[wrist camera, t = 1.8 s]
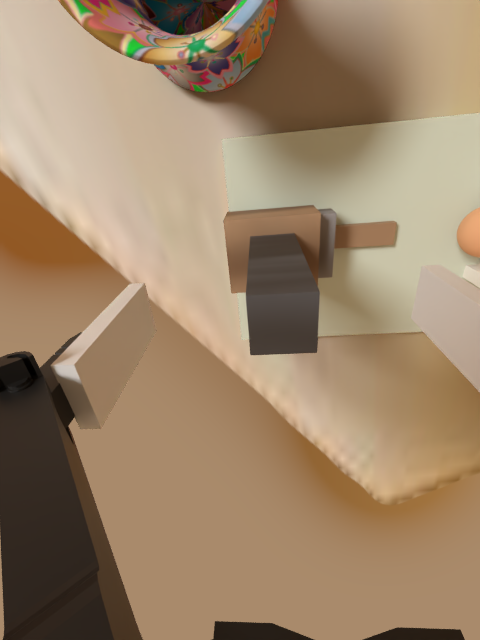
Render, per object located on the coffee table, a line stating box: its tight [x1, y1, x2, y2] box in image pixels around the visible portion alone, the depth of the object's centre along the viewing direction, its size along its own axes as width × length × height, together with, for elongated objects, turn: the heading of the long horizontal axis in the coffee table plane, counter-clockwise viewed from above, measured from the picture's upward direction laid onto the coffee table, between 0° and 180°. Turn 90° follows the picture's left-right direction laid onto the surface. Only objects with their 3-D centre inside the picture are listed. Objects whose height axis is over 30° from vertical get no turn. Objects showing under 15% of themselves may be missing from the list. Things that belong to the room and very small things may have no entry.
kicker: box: [224, 205, 337, 355], centre depth 17 cm, size 5×7×12 cm
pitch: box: [222, 113, 480, 340], centre depth 23 cm, size 16×22×2 cm
